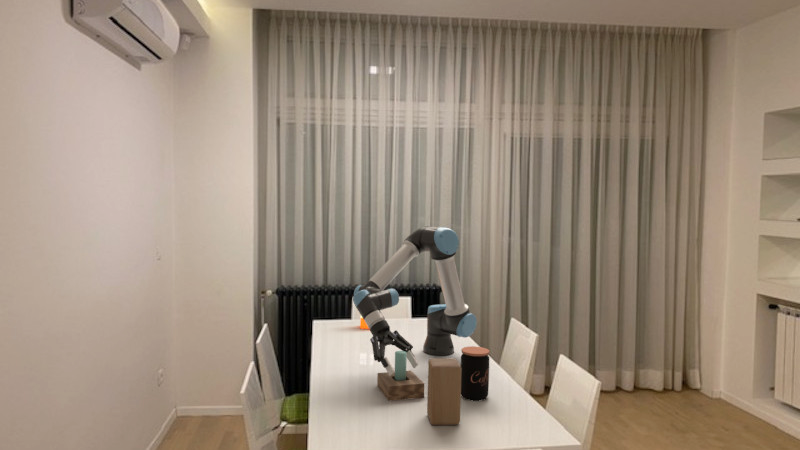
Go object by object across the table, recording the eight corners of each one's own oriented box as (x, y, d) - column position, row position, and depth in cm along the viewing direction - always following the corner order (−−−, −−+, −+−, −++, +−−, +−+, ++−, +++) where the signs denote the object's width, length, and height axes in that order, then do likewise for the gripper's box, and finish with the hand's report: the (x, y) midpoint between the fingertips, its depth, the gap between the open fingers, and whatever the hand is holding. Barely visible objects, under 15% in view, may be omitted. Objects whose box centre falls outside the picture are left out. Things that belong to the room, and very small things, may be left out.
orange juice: (375, 328, 319) (376, 294, 318) (360, 328, 319) (360, 293, 318) (376, 325, 327) (377, 291, 326) (361, 325, 327) (361, 291, 326)
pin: (403, 385, 219) (404, 350, 218) (407, 389, 215) (408, 353, 214) (393, 386, 218) (393, 351, 217) (396, 390, 213) (397, 354, 213)
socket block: (410, 383, 226) (410, 370, 226) (424, 397, 211) (424, 383, 210) (377, 386, 222) (377, 373, 221) (388, 400, 206) (388, 386, 206)
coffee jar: (470, 403, 206) (471, 355, 205) (454, 394, 215) (455, 348, 215) (493, 399, 211) (495, 352, 210) (477, 390, 220) (478, 345, 219)
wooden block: (426, 414, 194) (428, 357, 194) (455, 414, 195) (456, 357, 194) (430, 426, 185) (432, 366, 184) (460, 425, 185) (462, 366, 184)
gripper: (393, 325, 235) (419, 368, 226) (349, 335, 216) (376, 382, 207) (403, 314, 231) (430, 358, 222) (359, 323, 213) (387, 371, 203)
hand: (404, 370), depth 214 cm, fingers open, 13 cm apart
